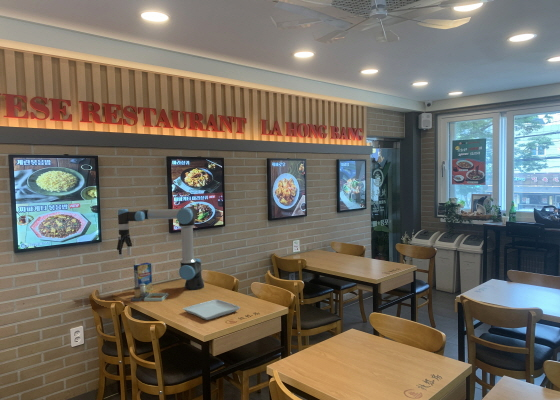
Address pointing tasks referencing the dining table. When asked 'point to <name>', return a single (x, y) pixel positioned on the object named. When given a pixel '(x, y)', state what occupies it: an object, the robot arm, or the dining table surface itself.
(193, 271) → the robot arm
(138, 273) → the beverage box
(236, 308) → the square plate
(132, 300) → the fuse block
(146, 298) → the parts tray
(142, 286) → the fuse
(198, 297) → the dining table surface
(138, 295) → the fuse
